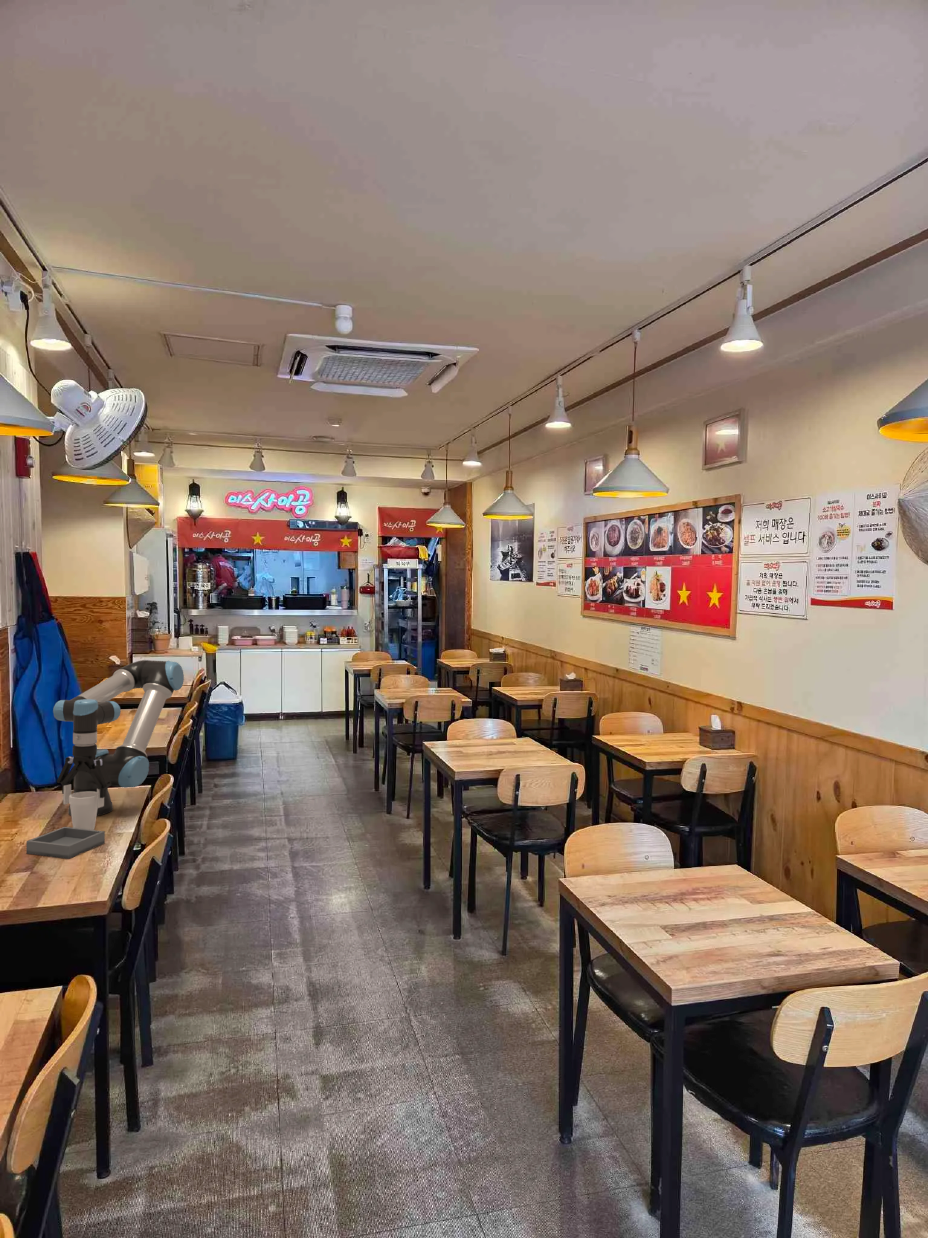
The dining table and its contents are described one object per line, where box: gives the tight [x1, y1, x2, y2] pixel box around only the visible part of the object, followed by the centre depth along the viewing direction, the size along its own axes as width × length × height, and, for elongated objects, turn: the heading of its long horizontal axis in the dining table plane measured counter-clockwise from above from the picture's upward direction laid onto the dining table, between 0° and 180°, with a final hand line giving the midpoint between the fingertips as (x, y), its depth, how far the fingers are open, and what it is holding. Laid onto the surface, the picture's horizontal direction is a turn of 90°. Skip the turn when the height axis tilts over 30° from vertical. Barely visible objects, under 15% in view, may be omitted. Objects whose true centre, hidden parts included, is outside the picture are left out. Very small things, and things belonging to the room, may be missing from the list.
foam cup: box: [68, 791, 98, 830], centre depth 265 cm, size 10×9×13 cm
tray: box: [25, 826, 106, 860], centre depth 248 cm, size 16×16×4 cm
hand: (83, 805), depth 264 cm, fingers open, 13 cm apart
